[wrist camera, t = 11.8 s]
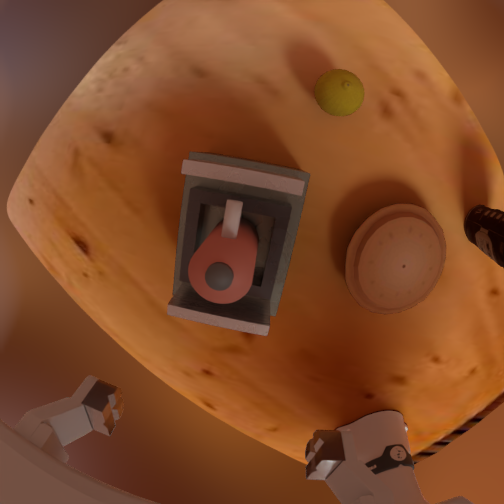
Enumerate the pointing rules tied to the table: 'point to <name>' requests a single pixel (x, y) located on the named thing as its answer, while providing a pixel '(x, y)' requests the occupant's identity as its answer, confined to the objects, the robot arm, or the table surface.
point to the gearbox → (254, 210)
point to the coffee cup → (487, 231)
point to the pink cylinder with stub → (226, 258)
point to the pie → (395, 258)
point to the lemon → (339, 92)
